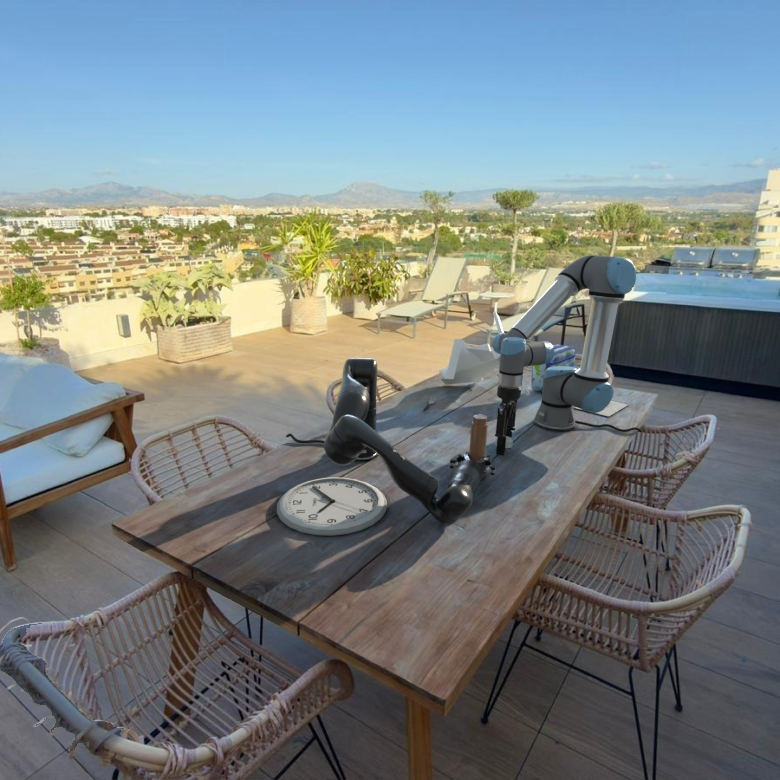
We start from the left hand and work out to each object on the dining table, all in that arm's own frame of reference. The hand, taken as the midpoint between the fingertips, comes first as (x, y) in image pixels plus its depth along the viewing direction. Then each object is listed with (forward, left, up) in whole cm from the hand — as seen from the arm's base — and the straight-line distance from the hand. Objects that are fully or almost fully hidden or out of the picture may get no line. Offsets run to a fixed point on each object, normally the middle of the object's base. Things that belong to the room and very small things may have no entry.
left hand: (478, 454), depth 162 cm
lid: (+5, +16, 0) cm, 17 cm away
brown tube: (0, -3, -6) cm, 7 cm away
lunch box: (+14, +102, -6) cm, 103 cm away
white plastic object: (-16, +83, -6) cm, 85 cm away
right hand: (+5, +16, -5) cm, 18 cm away
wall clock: (-33, -36, -6) cm, 49 cm away
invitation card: (+37, +84, -6) cm, 92 cm away
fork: (-32, +54, -6) cm, 63 cm away
